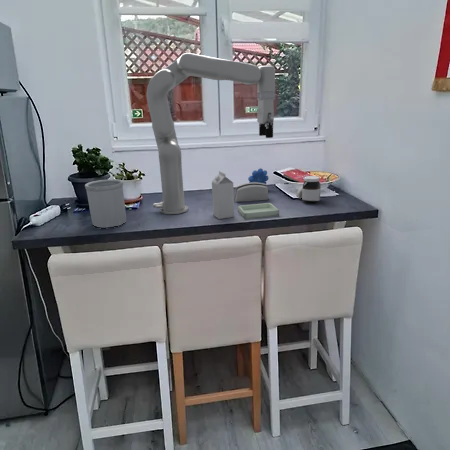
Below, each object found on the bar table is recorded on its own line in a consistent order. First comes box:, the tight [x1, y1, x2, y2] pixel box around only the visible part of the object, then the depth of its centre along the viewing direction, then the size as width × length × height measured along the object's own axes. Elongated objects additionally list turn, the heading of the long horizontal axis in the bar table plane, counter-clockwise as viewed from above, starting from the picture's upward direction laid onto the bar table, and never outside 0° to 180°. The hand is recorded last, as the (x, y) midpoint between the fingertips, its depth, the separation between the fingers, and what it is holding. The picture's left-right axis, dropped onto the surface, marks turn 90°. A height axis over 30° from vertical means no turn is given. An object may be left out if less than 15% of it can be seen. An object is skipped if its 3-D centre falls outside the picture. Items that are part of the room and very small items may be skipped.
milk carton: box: [211, 170, 235, 220], centre depth 165 cm, size 7×7×19 cm
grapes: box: [248, 167, 270, 185], centre depth 206 cm, size 12×7×12 cm, turn 108°
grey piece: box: [234, 182, 269, 203], centre depth 190 cm, size 17×5×10 cm, turn 98°
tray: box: [237, 202, 280, 220], centre depth 170 cm, size 15×12×2 cm
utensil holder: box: [84, 178, 127, 227], centre depth 162 cm, size 15×15×18 cm
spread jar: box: [296, 175, 322, 205], centre depth 184 cm, size 12×11×12 cm
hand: (265, 136), depth 175 cm, fingers open, 9 cm apart
